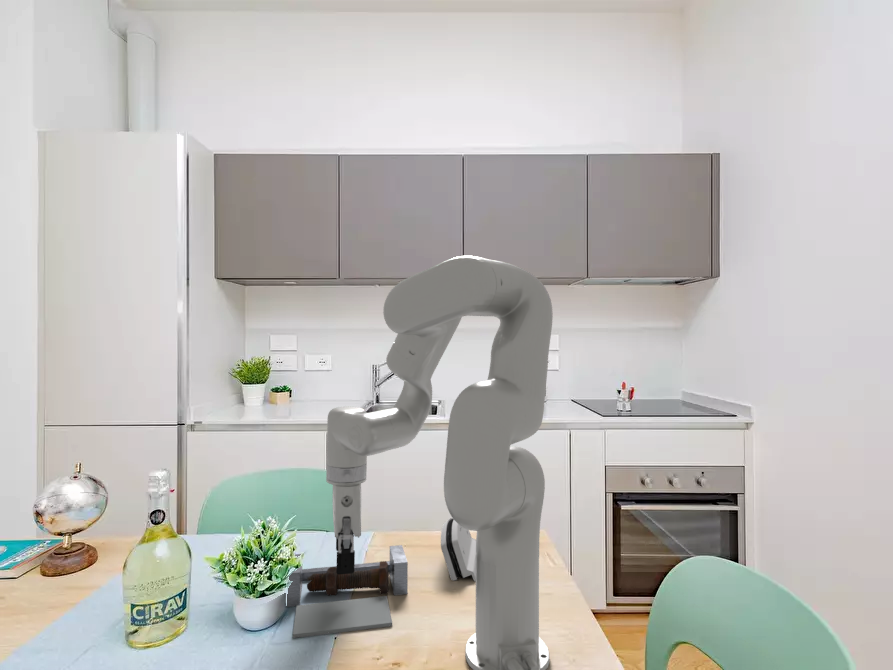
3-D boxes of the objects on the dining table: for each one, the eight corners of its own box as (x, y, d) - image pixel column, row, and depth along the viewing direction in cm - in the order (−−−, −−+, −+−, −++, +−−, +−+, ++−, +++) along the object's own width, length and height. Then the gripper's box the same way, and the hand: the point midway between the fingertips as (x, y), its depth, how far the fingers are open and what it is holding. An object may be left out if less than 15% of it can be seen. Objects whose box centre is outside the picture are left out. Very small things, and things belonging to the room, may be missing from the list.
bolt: (309, 600, 98) (388, 595, 100) (304, 599, 94) (387, 593, 95) (311, 567, 101) (388, 562, 102) (306, 564, 97) (387, 559, 98)
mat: (392, 626, 87) (392, 622, 87) (292, 638, 83) (292, 634, 83) (386, 598, 95) (386, 595, 95) (296, 608, 92) (296, 605, 92)
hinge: (476, 581, 102) (459, 533, 102) (453, 588, 102) (437, 540, 103) (480, 547, 119) (465, 505, 119) (460, 553, 119) (446, 511, 119)
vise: (407, 593, 97) (407, 562, 97) (285, 607, 92) (285, 573, 92) (399, 567, 108) (399, 538, 108) (290, 577, 103) (290, 548, 103)
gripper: (369, 485, 91) (367, 581, 91) (363, 459, 108) (362, 541, 108) (325, 487, 89) (323, 585, 90) (326, 461, 106) (325, 543, 107)
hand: (344, 561), depth 99 cm, fingers open, 9 cm apart
